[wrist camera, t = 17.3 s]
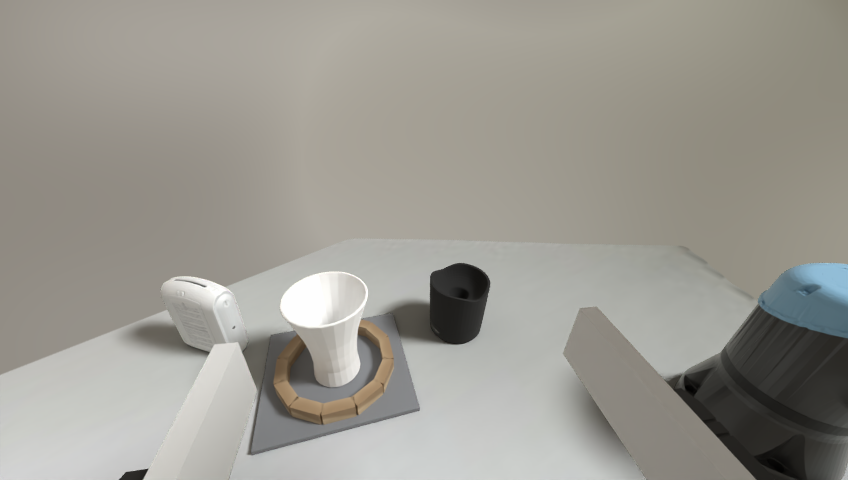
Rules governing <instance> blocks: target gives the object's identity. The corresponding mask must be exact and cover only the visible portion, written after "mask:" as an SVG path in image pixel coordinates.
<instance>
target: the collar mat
mask: <svg viewBox="0 0 848 480" xmlns="http://www.w3.org/2000/svg"><path fill="white" fill-rule="evenodd" d="M361 320H366V321H370V323H371V322H372V323H373V324H375V325H376V326H377V327H378V328H379V329H381V330H382V331H383V332H384V333H385V334H387V335H388V337H389V341H390V345H391V349H392V353H393V357H394V369H393V372H392V374H391V377H390V379H389V382H388V385H387V387H386V390H385V392H384V393H383V395H382V396H381V397H380V398H378V399H377V400H376V401H375V402H374V403H373V404H371V405H370V406H369V407H368V408H367V409H366V410H364V411H363V412H362V413H361V414H360V415H358V414H357V413H356V415H357V416H356V417H352V418H348V419H345V420H341V421H337V422H333V423H329V424H325V425H324V424H323V423H322V425H320V424H317V423H313V422H310V421H306V420H303V419H299V418H296V417H293V416H292V415H290V413H289V412H288V410H287V409H286V407H285V406H284V404H283V403H282V401H281V400H280V398H279V397H278V395H277V393H276V390H275V387H274V384H273V383H274V376H275V369H276V362H277V359H278V356H279V355H280V354H281V352H282V351H283V350H284V349H285V347H286V346H287V345H288V344H289V342H290V341H291V340H292V339H293V337H294V336H295V337H296V335H297V333H296V331H290V332H285V333H279V334H274V335H271V338H270V344H269V350H268V355H267V361H266V367H265V373H264V379H263V384H262V390H261V396H260V402H259V407H258V413H257V419H256V425H255V431H254V436H253V442H252V448H251V454H252V455H254V454H258V453H262V452H265V451H269V450H273V449H277V448H280V447H284V446H288V445H292V444H295V443H299V442H303V441H307V440H310V439H314V438H318V437H322V436H325V435H329V434H333V433H337V432H340V431H344V430H348V429H352V428H355V427H359V426H363V425H367V424H370V423H374V422H378V421H382V420H385V419H389V418H393V417H397V416H400V415H404V414H408V413H412V412H415V411H419V410H420V407H419V403H418V400H417V396H416V393H415V389H414V386H413V382H412V379H411V375H410V372H409V368H408V365H407V361H406V358H405V354H404V351H403V347H402V344H401V340H400V337H399V333H398V330H397V326H396V323H395V319H394V316H393V313H390V314H385V315H379V316H374V317H368V318H363V319H361ZM357 351H358V355H359V359H360V369H359V372H358V374H357V375H356V376H355V378H354V379H353V380H351V381H350V382H349V383H347V384H345V385H343V386H339V387H326V386H323V385H321V384H320V383H319V382H318V381H317V380H316V378H315V375H314V363H313V360H312V357H311V354H310V352H309V350H308V348H307V347H306V348H305V349H304V350H303V351H302V352H301V354H300V355H299V357H298V358H297V359H296V361H295V362H294V364H293V365H292V366H291V370H290V381H289V384H290V386H291V387H292V388H293V390H294V391H295V392H296V394H297V395H298V397H302V398H305V399H309V400H313V401H317V402H320V403H327V402H331V401H336V400H340V399H344V398H348V397H352V396H353V395H355V394H356V393H357V392H358V391H360V390H361V389H362V388H363V387H365V386H366V385H367V384H369V383H370V382H371V381H372V380H374V378H375V376H376V373H377V371H378V369H379V366H380V364H381V362H382V358H381V353H380V349H379V348H378V347H377V346H376V345H375V344H374V343H373V342H371V341H370V340H369V339H368V338H367V337H365V336H361V335H357Z"/></svg>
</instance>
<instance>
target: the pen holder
mask: <svg viewBox="0 0 848 480" xmlns="http://www.w3.org/2000/svg"><path fill="white" fill-rule="evenodd" d="M489 288H490V280H489V278H488V276H487V275H486V274H485V272H483V271H482V270H481V269H479V268H477V267H475V266H473V265H469V264H465V263H457V264H453V265H451V266H448V267H446V268H444V269H441V270H437V271H434V272H433V273H432V274H431V276H430V324H431V328H432V330H433V332H434V333H435V334H436V335H437V336H438V337H439V338H441V339H442V340H444V341H447V342H450V343H465V342H468V341H470V340H472V339H474V338H475V337H476V336H477V335H478V333H479V331H480V328H481V324H482V320H483V315H484V311H485V306H486V302H487V297H488V293H489Z"/></svg>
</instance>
